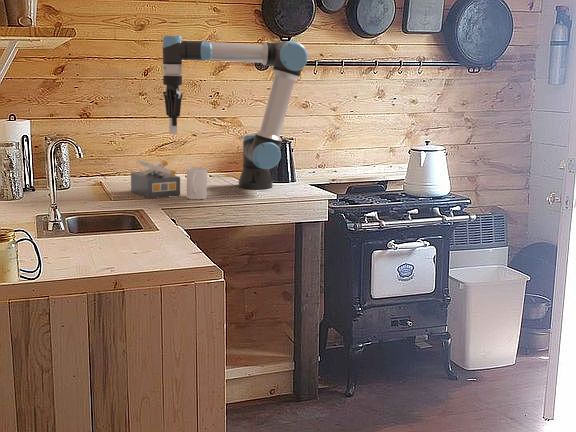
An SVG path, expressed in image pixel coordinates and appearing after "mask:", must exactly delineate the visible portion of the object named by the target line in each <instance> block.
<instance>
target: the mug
mask: <svg viewBox="0 0 576 432" xmlns="http://www.w3.org/2000/svg"><path fill="white" fill-rule="evenodd" d="M207 176H208V169H207V168H206V167H200V166H199V167H197V166H196V167H195V166H193V167H187V168H186V196H185V198H186V197H187V198H189V199H188V200H192V199H203V200H206V199H208V193H207V192H208V191H207V190H208V189H207V188H208V185H207V184H208V181H207V180H208V177H207ZM187 198H186V199H187Z"/></svg>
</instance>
